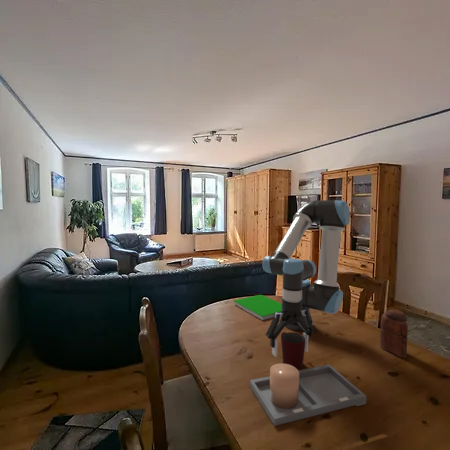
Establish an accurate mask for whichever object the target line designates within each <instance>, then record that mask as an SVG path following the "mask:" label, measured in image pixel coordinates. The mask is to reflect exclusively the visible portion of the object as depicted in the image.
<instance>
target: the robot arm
mask: <svg viewBox="0 0 450 450" xmlns="http://www.w3.org/2000/svg"><path fill="white" fill-rule="evenodd" d="M350 211H351V210H350V206H349V204H348V203H347V201H345V200H339V199H337V200H336V199H335V200H334V199H332V200H331V199H328V200H321V199H320V200H317V199H316V200H315V199H314V200H311V201H309V202H307V203H305V204H303V205H302V206H301V207H300V208H299V209H298V210H297V211H296V212H295V214H294V215H293V216H292V217H293V218H292V222H291V225H290V226H289V227H288V229H287V231H286V232H285V234H284V236H283V237H282V239H281V241H280V243H278V246H277V247H276V249H275V251H274V252H273V254H272V255H266V256H265V257H264V258H263V260H262V269H263V272H266V273H268V274H271V275H277V276H282V289H281V290H282V291H281V295H282V296H281V297H282V299H281V304H282V312H281V313H277V312H275V313H274V317H273V318H272V320H271V323H270V324H269V326H268V329H267V331H266V333H265V336H266V337H267V338H268V340H270V341H269V342H270V347H271V354H272V355H273V356H274V358H277V357H278V339H277V338H278V336H280V335H281V333H282V332H283V329H285V328H287V329H290V330H293V331H299V332H300V331H301V332H302V331H303V332H302V336H304V337H305V350H304V352H305V353H307V352H309V343H310V342H311V337H312V336H313V334H314V333H315V332H316V331H315V328H314V323H313V317H312V315H311V310H314V311H315V310H316V311H319V312H323V313H325V314H333V315H334V314H337V313H338V311H339V310H340V308H341V306H342V304H343V303H342V302H343V300H344V299H343V298H344V292H343V290H341V289H340V284H339V283H338V282H337V279H338V268H339V267H338V266H339V256H340V246H341V245H340V244H341V236H342V232H343V231H344V230H345V229H346V226H349V224H350V222H351V212H350ZM313 224H319V228H320V229H321V230H322V231H321V239H320V249H319V259H318V260H319V261H318V269H317V266H316V264H315V263H314V261H312V260H310V259H304V260H302V259H299V258H292V256H293V255H294V253H295V251H296V250H297V248H298V245H299V243H300V242H301V240H302V239H303V237H304V235H305V232H306V231H307V230H308V229H309V228H311V227H312V225H313ZM317 270H318V272H317ZM316 273H317V279H316V280H315V281H313V284H311V283H312V282H311V280H310V279H311V278H312V277H315V275H316ZM310 309H311V310H310Z"/></svg>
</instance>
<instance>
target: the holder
mask: <svg viewBox="0 0 450 450" xmlns="http://www.w3.org/2000/svg"><path fill="white" fill-rule="evenodd" d="M298 371H299V398H298V404H297V406H296V407H294V408H291V409H283V408H279V407H277V406H275V405H274V404H273V403H272V402H271V401H270V375H269V376H264V377H260V378H254V379H249V388H251V389H250V390H252V392H253V393H254V396H255V397H256V399H257V400H258V402H259V404H260V405H261V407H262V409H263V410H264V411H265V413H266V414H267V416H268V418H269V420H270V421H271V423H272V424H273V426H274V427H276V426H279V425H284V424H287V423H291V422H295V421H298V420H299V421H300V420H302V419H303V420H304V419H306V418H307V419H308V418H310V417H314V416H315V417H316V416H318V415H323V414H327V413H330V412H333V411H337V410H341V409H346V408H349V407H353V406H357V407H360V406H363V405H366V404H367V395H366V394H365V393H364V392H363V391H362V390H361V389H359V388H358V387H356V385H354V384H353V383H352V382H350V380H348V379H347V378H346V377H345V376H343V375H342V374H341V373H340V372H339V371H338V370H336V369H335V368H334V367H333V366H331V364H326V365H325V364H324V365H319V366H314V367H310V368H304V369H298Z"/></svg>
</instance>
